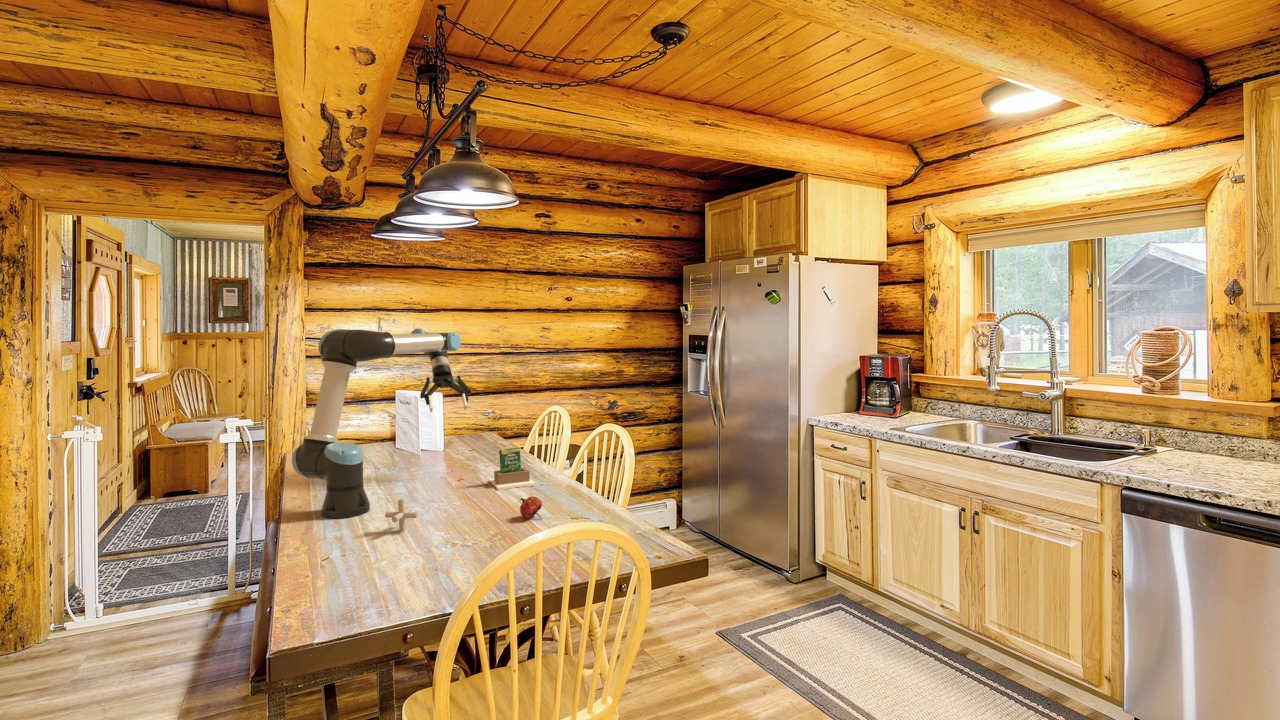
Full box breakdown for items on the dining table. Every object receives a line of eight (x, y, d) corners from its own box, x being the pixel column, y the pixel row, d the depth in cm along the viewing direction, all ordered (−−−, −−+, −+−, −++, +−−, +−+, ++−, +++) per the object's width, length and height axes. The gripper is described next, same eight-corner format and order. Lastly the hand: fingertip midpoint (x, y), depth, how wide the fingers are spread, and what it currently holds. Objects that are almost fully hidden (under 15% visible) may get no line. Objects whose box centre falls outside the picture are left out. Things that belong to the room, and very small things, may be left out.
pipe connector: (424, 525, 208) (423, 495, 208) (410, 536, 198) (409, 504, 198) (394, 525, 209) (393, 494, 209) (379, 535, 199) (378, 503, 199)
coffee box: (501, 483, 257) (500, 450, 256) (499, 481, 259) (499, 449, 259) (521, 480, 260) (520, 448, 260) (519, 479, 263) (518, 447, 262)
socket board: (535, 485, 257) (535, 472, 256) (498, 490, 250) (497, 477, 250) (524, 477, 270) (524, 465, 270) (488, 481, 263) (488, 469, 263)
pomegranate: (544, 521, 218) (525, 501, 221) (553, 507, 215) (533, 486, 218) (530, 530, 212) (510, 509, 215) (539, 515, 209) (518, 494, 212)
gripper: (469, 373, 283) (478, 412, 271) (409, 376, 272) (415, 417, 260) (472, 362, 278) (481, 401, 266) (411, 364, 267) (417, 405, 255)
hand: (448, 409), depth 263 cm, fingers open, 13 cm apart
